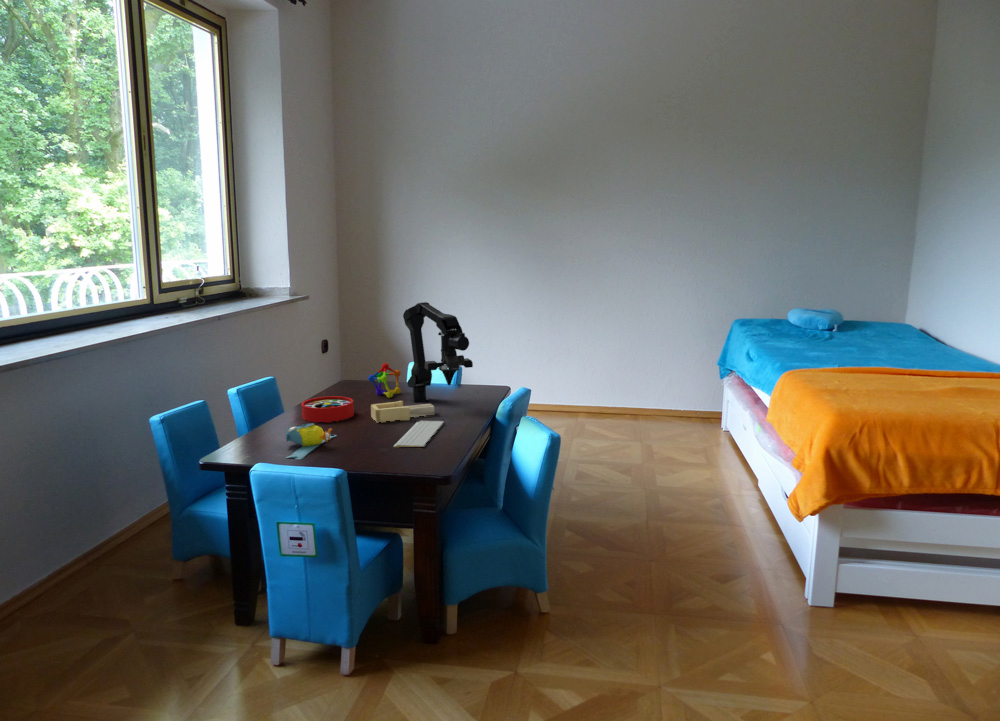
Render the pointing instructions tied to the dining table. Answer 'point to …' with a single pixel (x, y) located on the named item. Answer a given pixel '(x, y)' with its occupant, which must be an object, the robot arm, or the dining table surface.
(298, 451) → the toy airplane
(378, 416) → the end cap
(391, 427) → the dining table surface
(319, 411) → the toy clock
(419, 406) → the ash slat
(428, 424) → the baseboard molding
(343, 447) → the dining table surface
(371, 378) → the educational toy
